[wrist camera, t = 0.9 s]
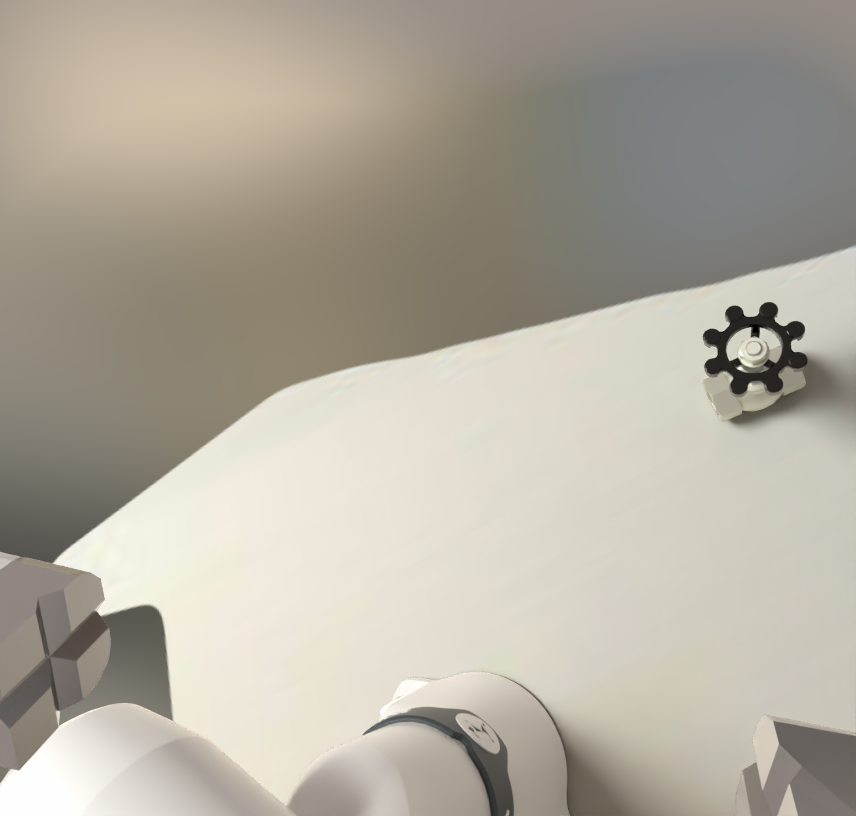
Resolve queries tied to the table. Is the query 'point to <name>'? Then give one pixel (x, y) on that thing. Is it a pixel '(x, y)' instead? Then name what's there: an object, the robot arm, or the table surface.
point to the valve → (753, 363)
